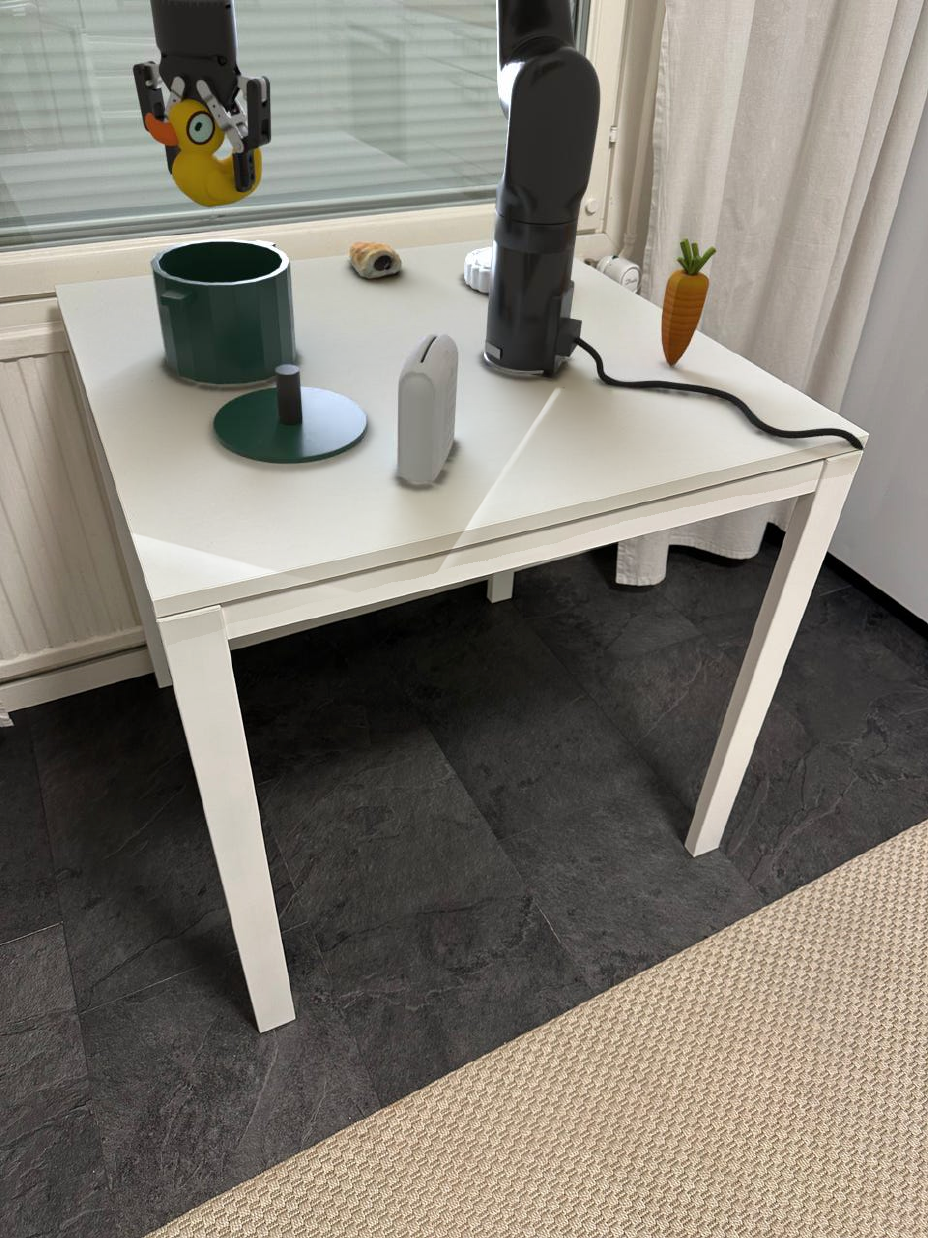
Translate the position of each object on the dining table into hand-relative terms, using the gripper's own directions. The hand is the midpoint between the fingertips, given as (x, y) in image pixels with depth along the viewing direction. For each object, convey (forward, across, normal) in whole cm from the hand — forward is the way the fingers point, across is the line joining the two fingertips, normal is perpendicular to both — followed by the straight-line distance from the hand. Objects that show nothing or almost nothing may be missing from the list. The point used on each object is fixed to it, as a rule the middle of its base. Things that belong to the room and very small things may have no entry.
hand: (213, 184), depth 95 cm
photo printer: (+19, +29, -12) cm, 37 cm away
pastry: (+19, +2, +36) cm, 41 cm away
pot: (+19, 0, 0) cm, 19 cm away
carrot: (+19, +48, +22) cm, 56 cm away
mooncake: (+19, +21, +40) cm, 49 cm away
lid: (+19, +14, -12) cm, 26 cm away
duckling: (+2, 0, 0) cm, 2 cm away
